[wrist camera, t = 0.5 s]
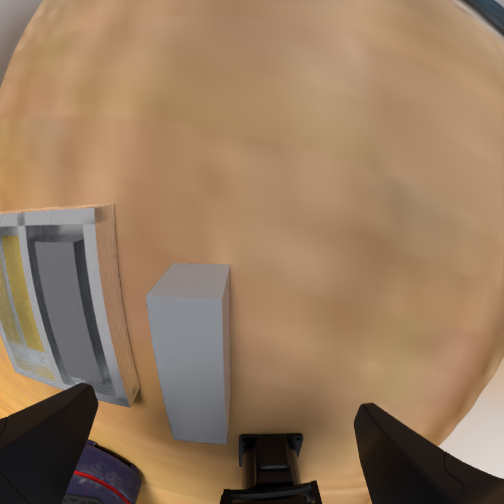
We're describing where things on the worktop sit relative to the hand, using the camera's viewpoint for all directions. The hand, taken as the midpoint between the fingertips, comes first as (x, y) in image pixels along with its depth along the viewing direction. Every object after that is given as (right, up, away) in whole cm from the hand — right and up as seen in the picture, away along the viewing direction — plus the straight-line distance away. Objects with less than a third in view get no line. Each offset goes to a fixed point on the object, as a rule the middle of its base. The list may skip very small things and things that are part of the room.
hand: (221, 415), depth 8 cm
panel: (-3, -2, +13) cm, 14 cm away
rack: (-17, +1, +13) cm, 21 cm away
